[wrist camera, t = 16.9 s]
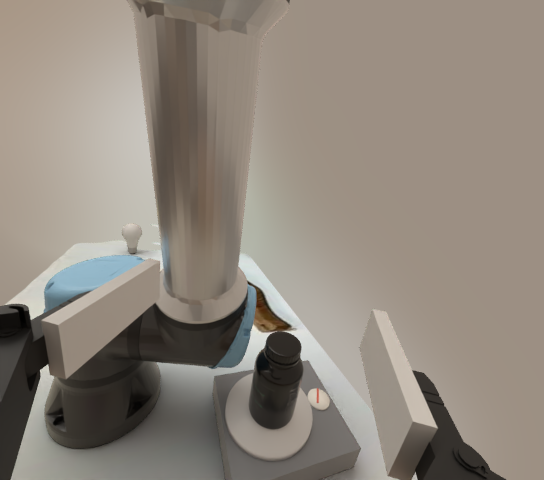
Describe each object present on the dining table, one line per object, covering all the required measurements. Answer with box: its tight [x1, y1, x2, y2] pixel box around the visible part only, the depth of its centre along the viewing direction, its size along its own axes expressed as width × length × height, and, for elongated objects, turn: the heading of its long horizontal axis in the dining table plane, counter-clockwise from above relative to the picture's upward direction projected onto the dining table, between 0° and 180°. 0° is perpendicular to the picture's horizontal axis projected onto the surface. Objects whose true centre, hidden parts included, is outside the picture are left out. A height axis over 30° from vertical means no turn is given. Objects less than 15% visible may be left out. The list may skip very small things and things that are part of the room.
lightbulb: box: [122, 223, 142, 254], centre depth 88 cm, size 6×6×11 cm
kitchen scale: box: [213, 361, 361, 480], centre depth 40 cm, size 18×16×5 cm
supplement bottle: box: [249, 332, 304, 430], centre depth 36 cm, size 7×7×12 cm
